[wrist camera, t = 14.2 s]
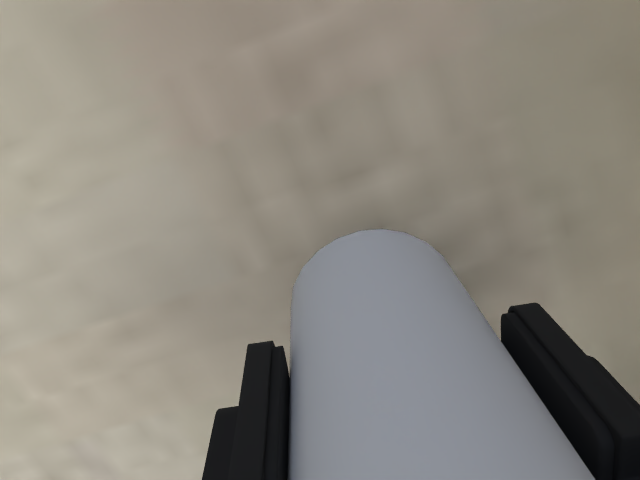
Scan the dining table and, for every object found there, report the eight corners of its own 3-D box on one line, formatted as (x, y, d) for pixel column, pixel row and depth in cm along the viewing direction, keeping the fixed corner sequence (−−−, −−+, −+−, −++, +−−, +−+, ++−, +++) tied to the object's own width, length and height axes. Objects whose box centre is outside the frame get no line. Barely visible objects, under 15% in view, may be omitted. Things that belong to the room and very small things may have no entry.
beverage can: (479, 248, 14) (1137, 991, 3) (415, 382, 16) (697, 1186, 5) (318, 199, 14) (427, 947, 2) (269, 345, 15) (195, 1194, 4)
